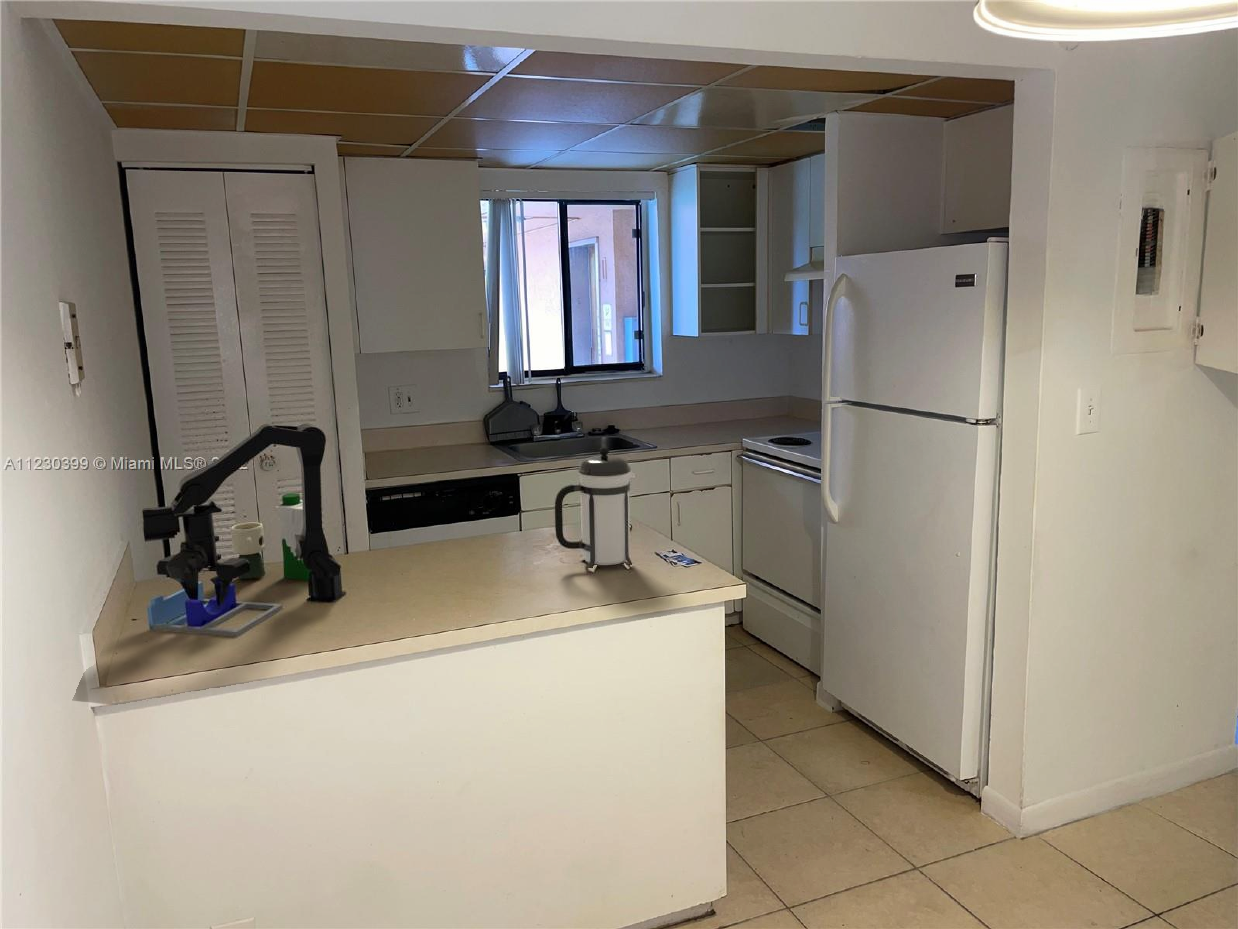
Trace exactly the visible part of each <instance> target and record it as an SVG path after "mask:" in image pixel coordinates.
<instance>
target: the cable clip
mask: <svg viewBox="0 0 1238 929" xmlns="http://www.w3.org/2000/svg"><path fill="white" fill-rule="evenodd" d="M235 585H236V584H235V583H231V584H230V586H229V589H228V592H227V594H226V597H225V600H224V602H223V605H222V606H218V604H217V600H216V595H215V596H214V597H212V598H209V599H210V600H209V602H208V604H207V606H206V607H205V608H204V605H203V601H202V600H192V599H189V600H187V601H185V608H186V613H185V615H186V617H187V621H186V624H187V625H186V626H194V627H202V626H204V625H206V624H207V623H209V622H211V621H213V620H214V619H216V618H218V617H220V616H222V615H223V614H225V613H227V612H229V611H231V610H232V609H234V608H236V607H237V606H236V601H237V598H236V597H237V596H236V595H237V594H236V587H235Z"/></svg>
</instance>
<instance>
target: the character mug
mask: <svg viewBox="0 0 1238 929" xmlns="http://www.w3.org/2000/svg"><path fill="white" fill-rule="evenodd" d="M230 535H231V546H232V551H233V554H235V555H238V557H237V558H241V559H246V560H248V561H249V564H250V571H249V572H247V573H245V574H243V575H241V576H239V577H237V578H238V579H251V580H254V578H255V579H257V578H261V577H263V576H265V575H266V572H265V571H266V570H265V565H264V562H263V557H262V554H261V552H262V551H263V550H265V545H266V544H265V537H264V527H263V524H262V523H261V522H245V523H244V522H243V523H239V524H235V525H232V526H231V528H230Z"/></svg>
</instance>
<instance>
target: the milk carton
mask: <svg viewBox="0 0 1238 929" xmlns="http://www.w3.org/2000/svg"><path fill="white" fill-rule="evenodd" d="M281 497H282V499H281V500H282V501H281V502H282V503H281V504H278V505H277V506H275V511H276V515H277V517H278V520H279V524H280V526H279V527H280V535H281V546H282V559H283V579H289V578H292V580H300V581H307V579H308V578H309V572H311V571H313V570H310V569H308V568H307V567H305V565H304V564H303V562H302V561H301V559H299V557H298V555H297V554H296V552H295V549H296V540H295V535H301V533H302V529H303V506H302V499H301V496H300V494H299V493H286V494H283V495H282V496H281Z"/></svg>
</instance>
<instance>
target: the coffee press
mask: <svg viewBox="0 0 1238 929" xmlns="http://www.w3.org/2000/svg"><path fill="white" fill-rule="evenodd" d="M609 452H610V451H609V449H608V447H606V446H603V447H600V449H599V454H600V455H594V456H590V457H587V458H585V459H584V460H583V461H582V462H581V463H580V466H579V467H578V473H579V477H580V478H579V480H580V481H579V483H578V484H569V485H565V486H564V487H562V488H560V489H559V491H558V492H557V494H556V497H555V499H554V525H555V526H554V527H555V529H554V531H555V538H556V540H557V542H558V543H559V544H560V545H561V547H563V548H566V549H571V550H576V549H578V550H579V549H580V550H581V555H580V556H579V558H580V557H581V556H583V558H584V560H585V561H584V562H586V563H588V566H587V569H588V568H593V566H594V565H597V567H599V566H612V565H618V564H619V565H623V564H624V563H627V565H628V566H630V565H632V564H633V562H632V561H631V559H630V554H631V550H630V549H631V541H630V540H631V537H630V536H631V534H630V532H631V530H630V528H631V527H630V523H631V522H630V521H631V520H630V491H631V482H630V479H631V478H636V475H635V473H634V472H633V471H632V470H631V466H630V465H629V463H628V462H627V460H626V459H624V458H623V457H620V456H616V455H608V454H609ZM574 492H575V493H576V492H580V519H581V520H580V522H581V523H580V525H581V526H580V527H581V528H580V529H581V538H580V540H578V541H569V540H568V539H566V538H565V537H564V523H563V518H564V517H563V502H564V499H565V497H566V496H567V495H568V494H571V493H574ZM626 561H627V562H626ZM598 565H599V566H598Z"/></svg>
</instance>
